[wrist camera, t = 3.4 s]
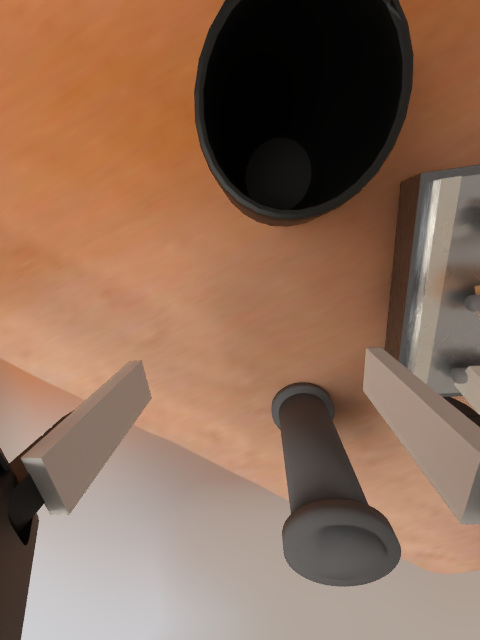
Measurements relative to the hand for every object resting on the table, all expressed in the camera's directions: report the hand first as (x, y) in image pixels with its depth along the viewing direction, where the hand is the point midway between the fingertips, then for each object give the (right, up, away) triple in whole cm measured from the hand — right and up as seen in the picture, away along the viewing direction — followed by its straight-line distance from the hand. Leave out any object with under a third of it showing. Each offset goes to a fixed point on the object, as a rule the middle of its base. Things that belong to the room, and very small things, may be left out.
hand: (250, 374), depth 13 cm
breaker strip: (+18, +6, +6) cm, 20 cm away
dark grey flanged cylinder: (+6, -6, +11) cm, 14 cm away
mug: (+3, +16, +4) cm, 17 cm away
